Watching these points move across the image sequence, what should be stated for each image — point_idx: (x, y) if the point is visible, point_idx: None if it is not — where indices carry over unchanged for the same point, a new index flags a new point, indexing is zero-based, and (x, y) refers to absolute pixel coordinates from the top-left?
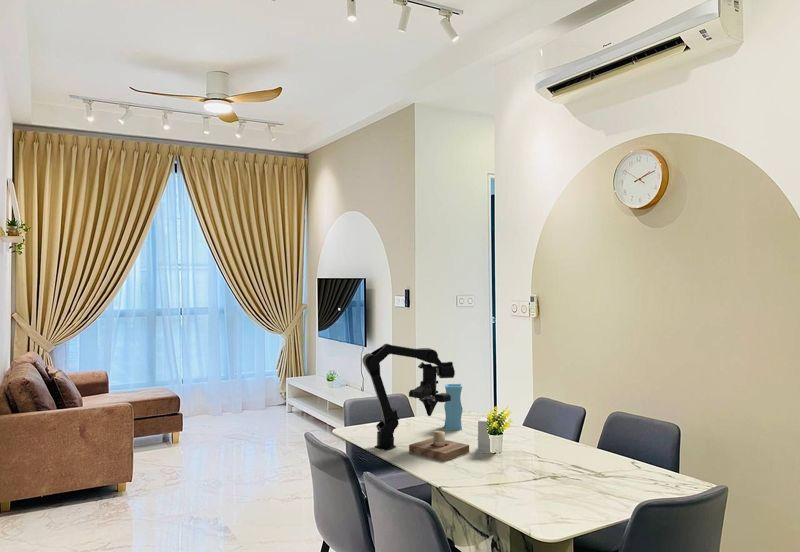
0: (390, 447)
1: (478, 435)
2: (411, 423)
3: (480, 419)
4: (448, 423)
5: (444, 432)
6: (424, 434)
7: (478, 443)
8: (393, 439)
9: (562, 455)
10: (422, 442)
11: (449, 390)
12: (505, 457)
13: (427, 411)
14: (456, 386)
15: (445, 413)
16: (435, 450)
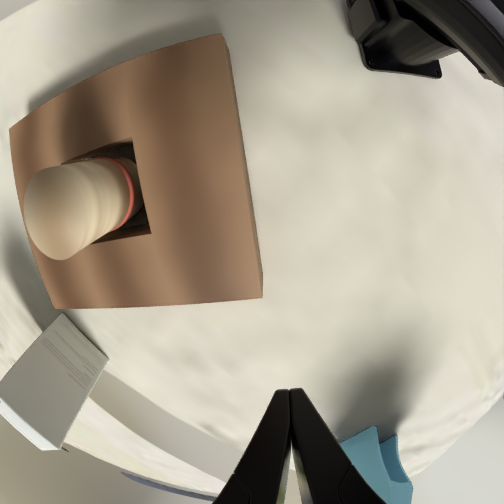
0: (348, 16)
1: (25, 351)
2: (487, 381)
3: (20, 420)
4: (370, 448)
5: (38, 245)
6: (411, 353)
7: (43, 332)
8: (368, 21)
9: None
10: (205, 141)
11: None
12: (16, 320)
13: (302, 431)
14: None
15: (401, 468)
16: (46, 109)
